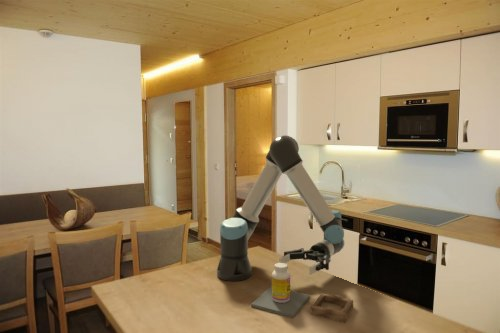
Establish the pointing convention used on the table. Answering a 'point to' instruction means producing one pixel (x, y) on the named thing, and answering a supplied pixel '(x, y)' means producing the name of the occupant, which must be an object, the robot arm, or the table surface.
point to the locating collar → (329, 313)
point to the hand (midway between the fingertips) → (294, 266)
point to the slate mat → (281, 308)
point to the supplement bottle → (281, 283)
